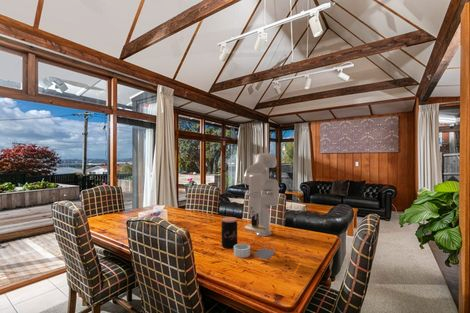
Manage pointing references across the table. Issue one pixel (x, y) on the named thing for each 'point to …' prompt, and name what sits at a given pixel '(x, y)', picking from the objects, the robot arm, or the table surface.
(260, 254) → the mat
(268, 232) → the robot arm
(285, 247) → the table surface
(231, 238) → the coffee jar
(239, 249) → the bowl
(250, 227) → the lid
